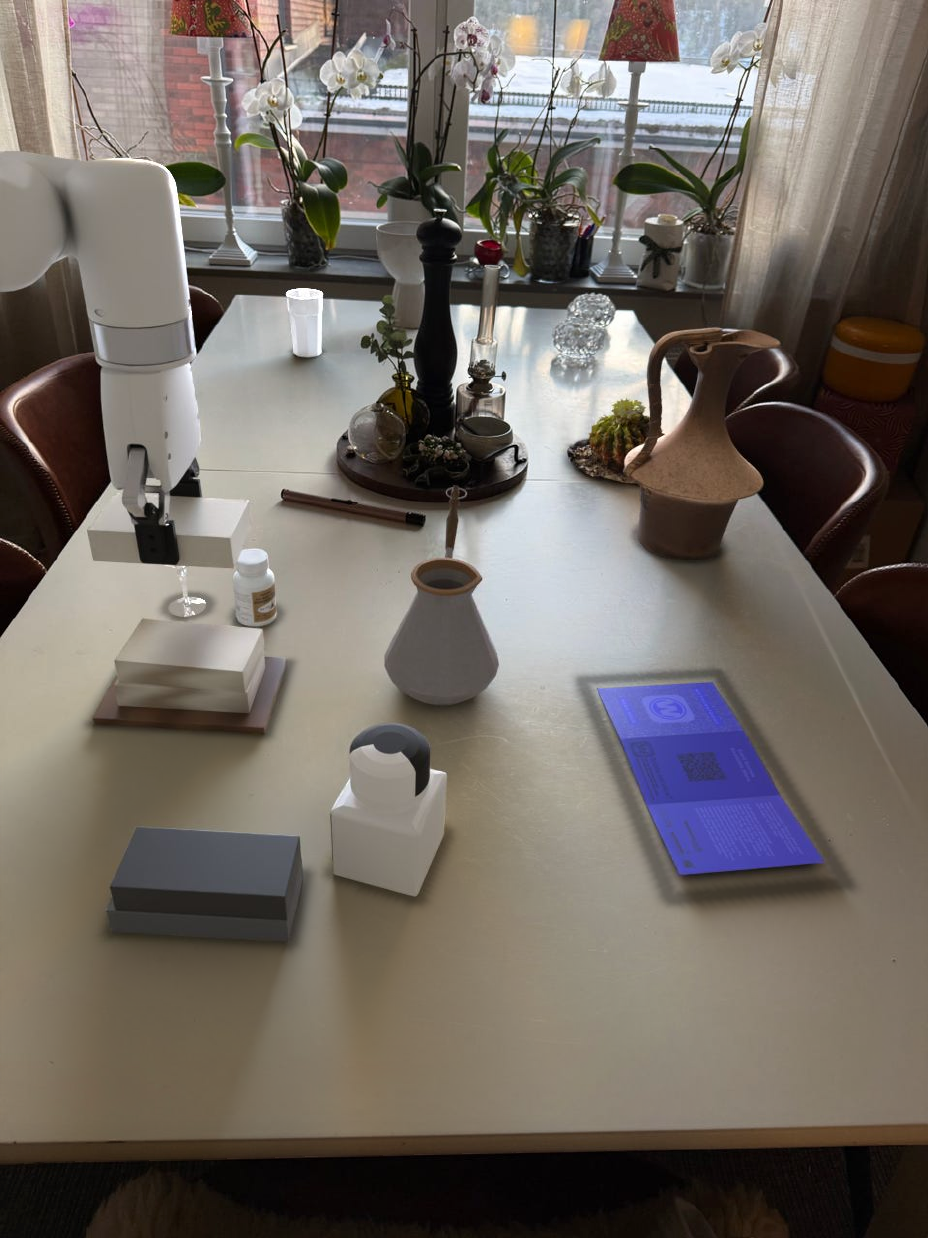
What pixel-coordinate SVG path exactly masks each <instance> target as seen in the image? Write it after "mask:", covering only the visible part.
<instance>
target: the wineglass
mask: <svg viewBox="0 0 928 1238" xmlns="http://www.w3.org/2000/svg"><path fill="white" fill-rule="evenodd" d="M163 566H164V567H167V568H171V569H177V573H176V574H177V577H178V578H179V581H180V583H181V589H182V597H180V598H178V599H176V600H173V601H172V602H171V603H170V604H169V605H168V612H169V613H170V614H172V615H174V616H176V617H183V618H186V617H193V616H196V615H198V614H200V613H202V612H203V611H204V610H205V609H206V607H207V604H206V602H205V600H203V599H201V598H199V597H195V596H189V594H188V587H187V577H188V570H187V568H188V567H189V566H179V565H163Z"/></svg>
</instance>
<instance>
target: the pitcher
mask: <svg viewBox="0 0 928 1238" xmlns="http://www.w3.org/2000/svg"><path fill="white" fill-rule="evenodd" d="M679 346H684V347H685V349H686V351H687V352H688V355H689V357H690V360H691V361H692V363H693V364H694V366H696V367H697V369H698V371H697V372H698V373H697V380H696V384H695V388H694V392H693V395H692V398H691V401H690V404H689V406H688V409H687V411H686V413H685V415H684V416H683V418H682V419H681V420H680V422H679V423H678V424H677V425H676V426H675V427H674V428H673V429H671V430H670V431H669V432H667V433H665V435H664V436H662V437H660V438H658V437H659V432H660V429H662V419H663V416H662V415H663V398H662V395H663V394H662V386H661V385H662V384H661V382H662V381H661V380H662V379H661V377H662V367H663V361H664V359H665V357H666V355H667V354H668V353H669V352H670V351H671V350H672V349H675V348H676V347H679ZM780 348H781V342H780V340H779V339H777V338H775V337H772V336H771V335H768V334H766V333H763V332H759V331H756V330H752V329H740V330H735V331H731V332H727V333H724V334H723V329H722V328H721V327H707V328H695V329H684V330H677V331H672V332H669V333H667V334H665V335H663V336H662V337H661V338H659V340H657V342H655V344H654V345H653V346H652V349H651V351H650V353H649V355H648V360H647V366H646V386H647V397H648V404H649V405H648V409H649V417H650V424H649V432H648V437H647V439H646V441H645V444H643V445H640V446H638V447H636V448H634V449H632V450H631V451H630V452H629V453H628V454H627V456H626V457H625V460H624V466H625V468H624V470H623V472H624V474H625V476H626V477H628V478H629V479H631V480H633V481H635V482H636V483H635V484H638V486H639V516H638V517H639V518H638V525H637V526H638V527H637V533H636V535H637V539H638V541H639V543H640V544H641V545H642V546H643V547H644V548H645V549H646V550H648V551H649V552H651V553H653V554H655V555H658V556H661V557H662V558H663V557H664V558H666V559H670V560H677V561H686V562H695V561H702V560H703V561H704V560H708V559H710V558H713V557H714V556H716V555H717V554H718V553H719V551H720V549H721V545H722V541H723V538H724V536H725V533H726V529H727V527H728V524H729V522H730V519H731V516H732V514H733V512H734V510H735V508H736V506H737V504H738V502H739V500H745V499H747V498H750V497H753V496H755V495H757V494H758V493H760V492H761V491H762V489H763V487H764V480H763V477H762V475H761V473H760V472H759V470H757V469H756V468H755V467H754V466H753V464H751V463H750V462H748V460H747V459H745V458H744V457H743V455H742V454H741V453H740V452H739V450H737V448H736V447H735V446H734V443H733V442H732V440H731V438H730V435H729V432H728V429H727V423H726V405H727V400H728V394H729V390H730V387H731V385H732V382H733V379H734V376H735V375H736V373H737V371H738V369H739V367H740V366H741V364H742V363H743V362H744V361H746V360H747V358H749V357H750V356H752V355H753V353H758V352H759V351H764V350H774V349H780Z"/></svg>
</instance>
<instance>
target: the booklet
mask: <svg viewBox="0 0 928 1238" xmlns="http://www.w3.org/2000/svg"><path fill="white" fill-rule="evenodd" d="M596 690H597V692H598V694H599V697H600V699H601V701H602V703H603V705H604V707H605V710H606V712H607V715H608V716H609V718H610V720H611V722H612V724H613V727H614V729H615V731H616V734H617V736H618V738H619V740H620V742H621V745H622V747H623V750H624V753H625V755H626V757H627V760H628V762H629V765H630V767H631V770H632V773H633V775H634V777H635V780H636V782H637V783H636V784H637V786H638V788H639V790H640V793H641V795H642V798H643V800H644V802H645V803H644V804H645V805H646V807H647V809H648V812H649V814H650V816H651V818H652V821H653V822H654V825H655V826H656V828H657V830H658V832H659V834H660V837H661V840H662V841H663V843H664V845H665V847H666V849H667V852H668V854H669V857H670V858H671V860H672V862H673V864H674V866H675V869H676V871H677V873H678V875H679V876H684V875H685V876H686V875H697V874H708V873H709V874H710V873H721V872H731V871H742V870H743V871H744V870H755V869H756V870H757V869H766V868H776V867H777V868H778V867H779V868H780V867H789V866H790V867H791V866H799V865H800V866H801V865H812V864H822V863H823V864H824V863H825V864H826V862H825V860H824V858H823V857H822V856H821V854H820V852H819V851H818V850H817V848H816V846H815V845H814V844H813V842H812V840H811V838H810V837H809V836H808V835H807V833H806V831H805V830H804V828H803V827H802V825H801V824H800V822H799V821H798V820H797V818H796V817H795V815H794V813H793V812H792V810H791V809H790V808H789V805H787V803H786V801H785V800H784V798H783V797H782V796H781V794H780V791H779V790H778V789H777V787H776V785H775V783H774V782H773V779H772V778H771V776H770V774H769V773H768V771H767V769H766V767H765V765H764V763H763V761H762V760H761V758H760V756H759V754H758V753H757V751H756V748H755V747H754V745H753V744H752V742H751V740H750V738H749V736H748V735H747V733H746V731H745V730H744V728H743V727H742V725H741V723H740V722H739V720H738V719H737V717H736V716H735V714H734V713H733V711H732V709H731V708H730V707H729V705H728V703H727V702H726V700H725V699H724V697H723V696H722V694H721V692H720V691H719V690H718V688H717V687H716V685H715V683H714V682H713V681H707V682H689V683H688V682H687V683H673V684H670V683H669V684H653V685H651V684H650V685H634V686H616V687H602V688H601V687H600V688H599V687H598V688H596Z"/></svg>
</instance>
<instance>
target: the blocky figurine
mask: <svg viewBox="0 0 928 1238" xmlns="http://www.w3.org/2000/svg"><path fill="white" fill-rule="evenodd" d="M348 750H349V751H348V752H349V779H348V780H347V782H346V784H345V785H344V787H343V788H342V791H340V794H339V795H338V797H337V799H336V800H335V802H334V803H333V806H332V807H331V809H330V812H329V818H330V839H331V840H330V841H331V859H332V873H333V875H335V876H338V877H341V878H344V879H348V880H352V881H355V882H359V883H363V884H368V885H369V886H373V887H377V888H381V889H385V890H388V891H392V892H396V893H399V894H403V895H405V896H406V895H407V896H410V897H417V896H418V895H419V893H420V891H421V889H422V886H423V884H424V882H425V879H426V877H427V875H428V873H429V870H430V868H431V865H432V863H433V861H434V858H435V857H436V854H437V852H438V849H439V847H440V845H441V842H442V840H443V838H444V836H445V823H446V822H445V821H446V805H447V804H446V802H447V801H446V799H447V784H448V783H447V782H448V781H447V779H448V776H447V773H446V772H444V771H442V770H438V769H437V770H436V769H432V768H431V757H432V756H431V755H432V754H431V753H432V751H431V750H432V749H431V745H430V743H429V740H428V739H427V738H426V737H425V735H424V734H422V733H421V732H420V731H419V730H417V729H415V727H412V726H409V725H407V724H403V723H398V722H384V723H378V724H374V725H371V726H370V727H367V728H365V729H364V730H362V731H361V732H359V734H357V735H356V736H355V737H354V739H353V740H352V742H351V744H350V746H349V749H348Z"/></svg>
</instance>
